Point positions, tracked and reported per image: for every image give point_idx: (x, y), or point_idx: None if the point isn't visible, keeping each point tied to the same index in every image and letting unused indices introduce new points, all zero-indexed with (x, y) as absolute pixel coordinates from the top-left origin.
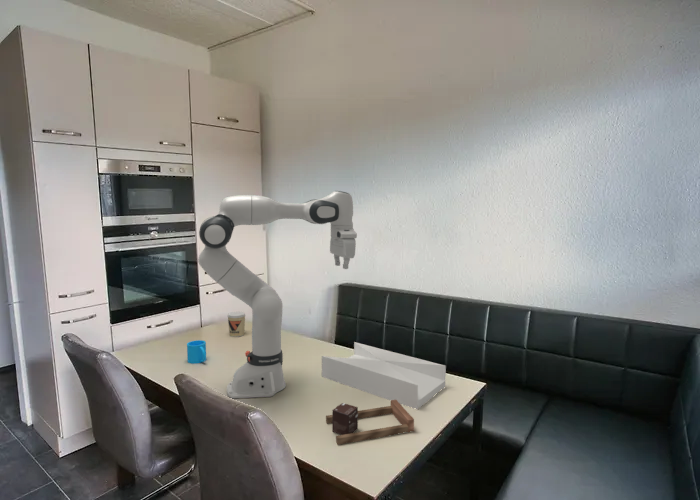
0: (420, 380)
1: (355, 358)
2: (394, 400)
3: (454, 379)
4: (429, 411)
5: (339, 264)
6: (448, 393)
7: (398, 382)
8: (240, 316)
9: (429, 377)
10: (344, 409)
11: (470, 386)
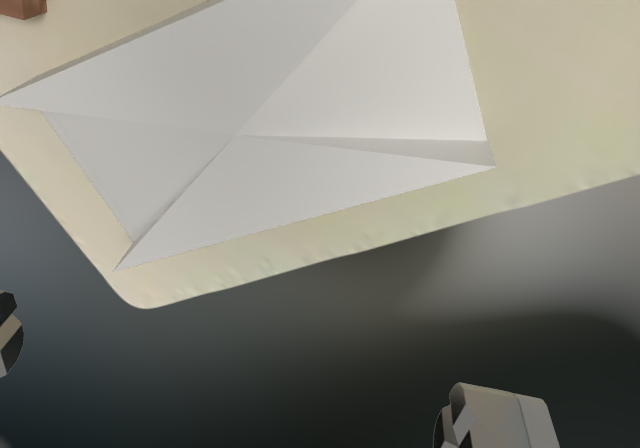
0: (126, 176)
1: (415, 105)
2: (17, 10)
3: (182, 282)
4: None
5: (441, 444)
6: (109, 213)
7: (54, 73)
8: None
9: (143, 213)
10: None
11: (130, 282)
